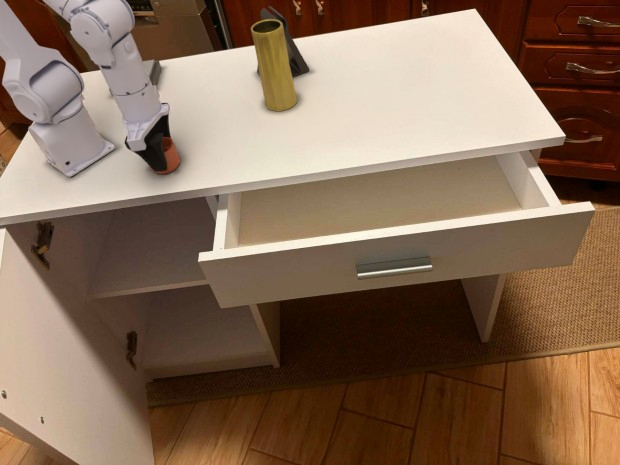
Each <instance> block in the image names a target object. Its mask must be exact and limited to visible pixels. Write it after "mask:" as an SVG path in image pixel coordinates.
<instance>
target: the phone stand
mask: <svg viewBox="0 0 620 465" xmlns="http://www.w3.org/2000/svg"><path fill="white" fill-rule="evenodd" d="M267 8H268V9H269V10H270V11H271V12H272V13H273V14H272V13H271V12H269V10H268V9H266V8H265V7H262V9H261V11H260V15H259V18H260V21H262V20H266V19H276V20H279V21H281V22H282V24H283V28H284V35H285V41H286V47H287V53H288V59H289V66H290V70H291V74H292V78H293V79H294V78H296V77H299V76H301V75H304V74H307V73H308V72H310V68H309V65H308V64H307V63H306V60H305V59H304V57H303V56H302V53H301V52H300V49H299V48H298V46H297V45H296V43H295V40H294V38H293V37H292V36H291V34H290V31H289V24H288V23H289V22H288V20H287V18H285V17H284V16H283V15H282V14H281V13H280V12H278V11H277V10H276V9H274V7H272V6H270V5H268V6H267ZM256 74H258V76H260V71H259V66H258V65H257V67H256Z"/></svg>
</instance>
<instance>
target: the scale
mask: <svg viewBox="0 0 620 465" xmlns="http://www.w3.org/2000/svg"><path fill="white" fill-rule="evenodd" d="M142 61H143V63H144V66H145V68H146V71H147V73H148V76H149V78H150V81H151V83H152V86H154V85H156V87H157V86H158V82H159V79H160V76H161V72H162V70H163V69H162V65H161V63H160V61H159V60H155V59H148V60H142ZM108 90H109V93H110V95H111V96H112V97H113V95H112V93H111V91H110V89H109V88H108Z"/></svg>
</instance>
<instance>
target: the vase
mask: <svg viewBox="0 0 620 465" xmlns="http://www.w3.org/2000/svg"><path fill="white" fill-rule="evenodd" d="M250 31H251V36H252V41H253V46H254V50H255V54H256V55H255V56H256V60H257V67H258V66H259V71H260V75H259V77H260V83H261V89H262V93H263V98H264V106H265V107H266V109H268V110H270V111H274V112H283V111H287V110H289V109H291V108H293V107H294V106H296V104H297V103H298V100H299V98H298V95H297V91H296V87H295V83H294V77H293V78H292V74H291V70H290V66H289V59H288V53H287V47H286V41H285V35H284V28H283V24H282V22H281V21H279V20H276V19H266V20H260V21H257V22H255V23H253V24H252V26H251V27H250Z"/></svg>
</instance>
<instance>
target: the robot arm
mask: <svg viewBox="0 0 620 465" xmlns="http://www.w3.org/2000/svg"><path fill="white" fill-rule="evenodd" d="M42 1H43V2H44V3H45V4H46V5H47V6H48V7H49V8H50V9H52V10H53V11H54V12H55V13H57V14H58V15H59V16H60V17H62V18H63V19H64V20H65V21H66V22H67V23H68V24H69V25H70V29H71V30H70V31H69V33H70V34H71V36H72V38H73V39H74V41H76V42H77V44H78V45H79V46H80V47H81V48H83V49H84V50H85V52H87V54H88V57H89V58H90V60H91V61H93V63H94V64H95V65H96V66H98V68H99V70H100V73H101V74H102V76H103V78H104V80H105V83H106V85H107V86H108V90H109V89H110V90H109V92H110V91H111V92H110V94H111V93H112V94H111V96H112V95H113V96H112V97H113V100H114V101H115V103H116V105H117V107H118V109H119V111H120V114H121V118H122V122H123V125H124V129H125V132H126V136H125V139H124V145H125V148H126V149H127V150H129V151H131V152H133V153H134V154H136V155H137V156H139V157H140V158H141V159H142V160H143V161H144V162H145V163H146V164H147V165H148V166H149V168H150V167H151V168H152V169H153V170H154V171H155V172H154V171H153V172H154V173H156V172H159V171H166V170H167V161H166V157H165V154H164V149H163V137H169V138H171V139H172V136H171V130H170V117H169V116H170V111H171V108H170V104H169V103H168V102H161V100H160V98H161V97H160V96H161V95H160V92H159V90H158V87H157V86H156V85H154V86H152V83H151V81H150V78H149V76H148V73H147V71H146V68H145V66H144V63H143V61H144V60H143V58H142V56H141V53H140V51H139V50H138V46H137V43H136V41H135V39H134V37H133V34H132V32H131V31H132V30H133V29H134V27H135V23H136V19H135V15H134V12H133V10H132V7H131V6H130V4H129V3H128V1H127V0H42ZM0 57H1V59H3V60H4V62H5V67H4V71H3V77H2V80H1V81H2V82H1V85H2V86H3V87H4V89H5V90H6V92H7V93H8V95H9V97H11V99H12V102H13V104H14V106H15V107H16V109H17V110H18V111H19V112H20V114H22V116H24V117H25V118H27V119H29V120H30V121H32V122H33V123H32V124H30V125H29V126H28V128H27V129H28V132H29V134H30V136H31V137H32V139H33V140H34V142H35V143H36V144H37V146H38V147H39V149H40V150H41V152H42V153H43V155H44V157H45V158H46V160H47V162H48V163H49V164H50V165H52V166H53V167H54V168H56V169H57V170H58V171H59V172H61V173H62V174H64V175H65V176H67V177H68V178H72V177H74V176H75V175H76V174H78V173H79V172H81V171H82V170H84V169H85V168H88V167H89V166H90V165H92V164H94V163H95V162H97V161H98V160H100V159H102V158H103V157H105V156H106V155H108V154H109V153H111V152H112V151H114V150H115V149H116V145H115V144H113V143H111V142H110V141H109V140H106V139H105V138H103V137H102V136H101V134H100V132H99V130H98V128H97V126H96V125H95V122H94V121H93V119H92V117H91V116H90V113H89V112H88V110H87V108H86V106H85V104H84V100H85V96H84V94H83V92H84V91H85V88H86V87H85V81H84V79H83V77H82V75H81V73H80V72H79V70H78V69H77V68H76V67H75V66H73V65H72V64H71V63H70V62H68V61H67V60H66V59H65V57H63V55H62V54H61V52H60V51H59V50H57V49H55V48H50V47H45V46H41V45H39V44H38V43H37V42H36V41H35V38H33V36H32V35H31V34H30V32H29V31H28V30H27V28H26V27H25V26H24V25H23V24H22V22H21V21H20V19H19V18H18V17H17V15H16V14H15V13H14V11H13V10H12V9H11V7H10V6H9V4H8V3H7V2H6V1H5V0H0ZM151 168H150V169H151Z"/></svg>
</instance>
